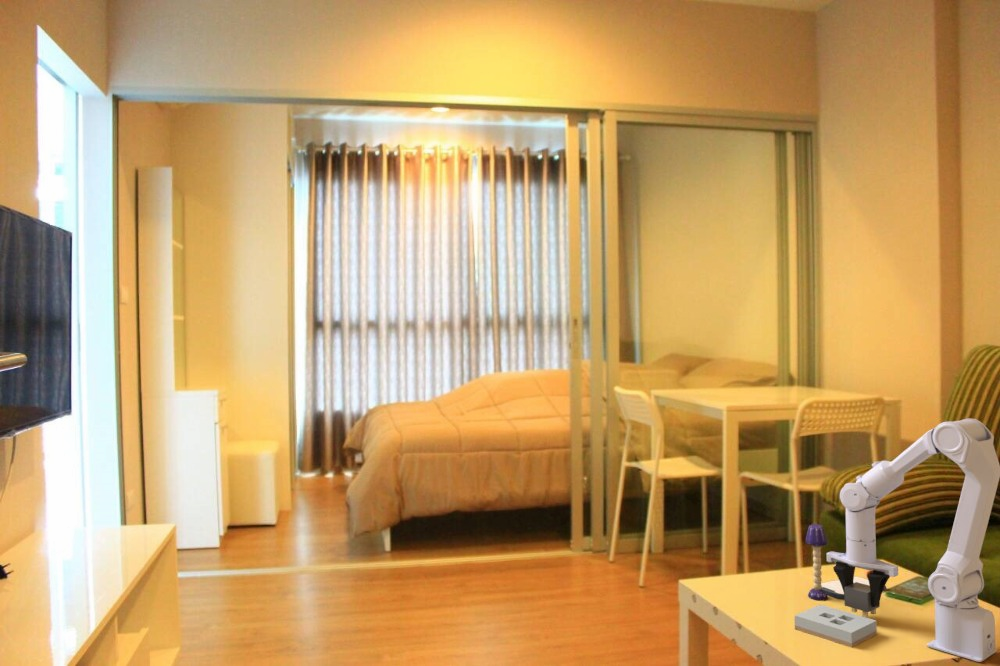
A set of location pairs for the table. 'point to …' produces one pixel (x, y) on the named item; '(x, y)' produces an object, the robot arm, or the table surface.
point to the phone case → (836, 589)
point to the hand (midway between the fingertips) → (862, 602)
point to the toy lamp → (816, 560)
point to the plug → (859, 598)
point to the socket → (836, 625)
